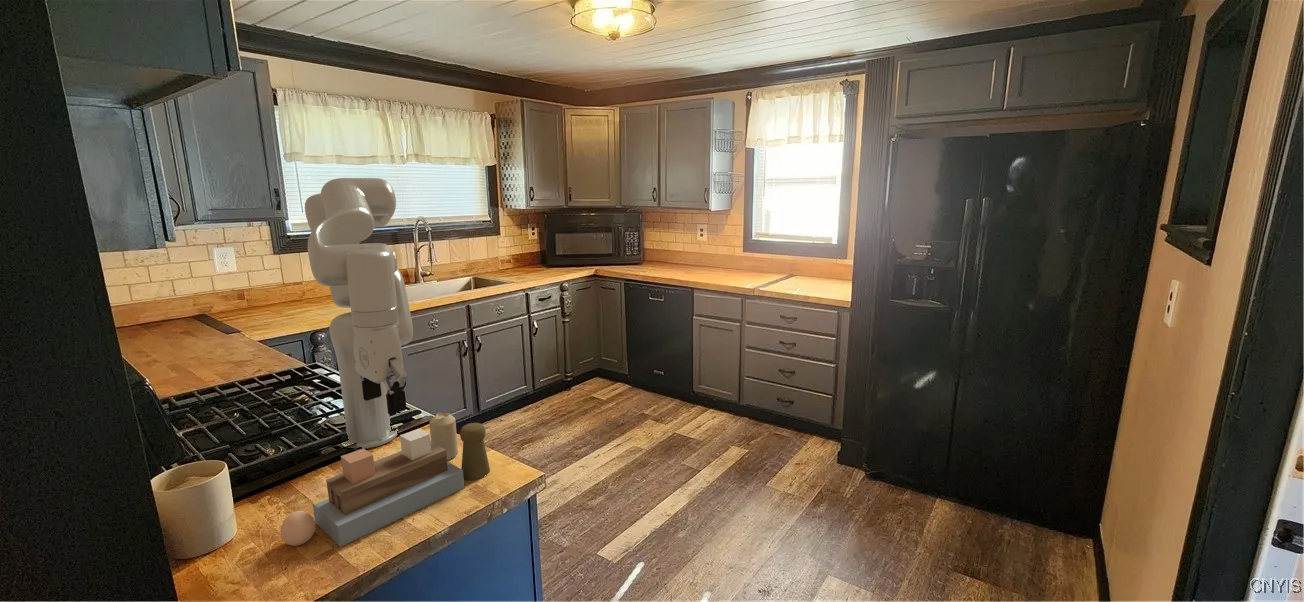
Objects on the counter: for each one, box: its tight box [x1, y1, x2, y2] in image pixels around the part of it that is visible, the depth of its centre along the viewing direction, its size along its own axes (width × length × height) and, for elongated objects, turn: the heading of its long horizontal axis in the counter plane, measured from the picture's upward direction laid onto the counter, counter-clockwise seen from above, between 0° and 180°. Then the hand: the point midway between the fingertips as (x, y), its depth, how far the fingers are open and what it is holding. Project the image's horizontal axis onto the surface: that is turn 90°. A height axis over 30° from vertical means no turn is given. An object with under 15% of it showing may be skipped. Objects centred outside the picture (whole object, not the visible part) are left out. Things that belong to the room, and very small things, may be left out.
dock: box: [312, 460, 465, 548], centre depth 107 cm, size 11×24×4 cm, turn 141°
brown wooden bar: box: [325, 440, 448, 515], centre depth 106 cm, size 6×20×4 cm, turn 141°
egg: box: [279, 510, 316, 547], centre depth 95 cm, size 5×5×6 cm
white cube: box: [399, 428, 431, 460], centre depth 110 cm, size 4×4×4 cm
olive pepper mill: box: [459, 422, 491, 481], centre depth 118 cm, size 6×6×11 cm
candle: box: [429, 412, 459, 461], centre depth 125 cm, size 6×6×10 cm
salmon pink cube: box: [340, 448, 375, 483], centre depth 101 cm, size 4×4×4 cm
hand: (384, 405), depth 104 cm, fingers open, 9 cm apart
